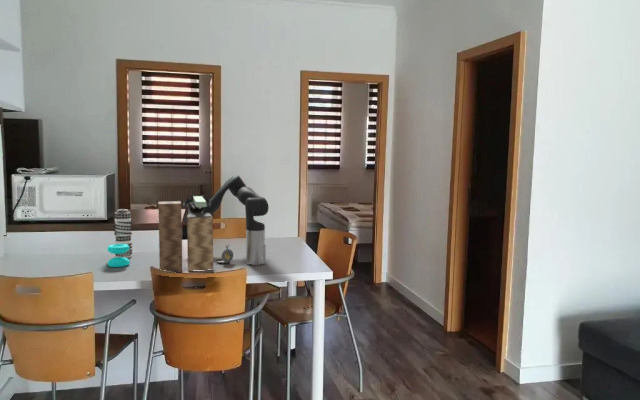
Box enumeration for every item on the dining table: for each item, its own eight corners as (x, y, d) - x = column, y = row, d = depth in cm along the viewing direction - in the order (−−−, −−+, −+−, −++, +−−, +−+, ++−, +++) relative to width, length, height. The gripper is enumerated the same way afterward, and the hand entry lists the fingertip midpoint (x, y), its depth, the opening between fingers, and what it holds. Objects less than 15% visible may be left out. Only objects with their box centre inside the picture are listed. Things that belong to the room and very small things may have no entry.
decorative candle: (137, 255, 264) (136, 209, 262) (123, 259, 256) (122, 211, 254) (124, 254, 268) (123, 208, 266) (110, 257, 260) (109, 209, 257)
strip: (202, 200, 250) (201, 196, 249) (206, 206, 227) (206, 201, 227) (192, 201, 248) (192, 196, 248) (196, 207, 226) (196, 201, 225)
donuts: (105, 244, 244) (127, 242, 249) (106, 264, 245) (128, 262, 250) (108, 248, 235) (130, 246, 240) (109, 268, 236) (131, 266, 241)
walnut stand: (181, 266, 242) (180, 201, 239) (182, 271, 233) (181, 203, 230) (159, 267, 239) (158, 201, 236) (159, 272, 230) (158, 203, 227)
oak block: (210, 264, 247) (210, 212, 244) (213, 270, 235) (212, 216, 233) (187, 266, 243) (187, 213, 241) (189, 272, 232) (188, 216, 229)
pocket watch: (219, 261, 255) (219, 241, 254) (235, 262, 254) (235, 242, 253) (213, 264, 247) (213, 244, 246) (229, 265, 246) (229, 245, 245)
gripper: (210, 216, 260) (213, 203, 245) (182, 217, 255) (183, 204, 240) (209, 203, 263) (212, 189, 248) (181, 203, 258) (182, 190, 243)
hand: (198, 197), depth 244 cm, fingers closed on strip, 4 cm apart
